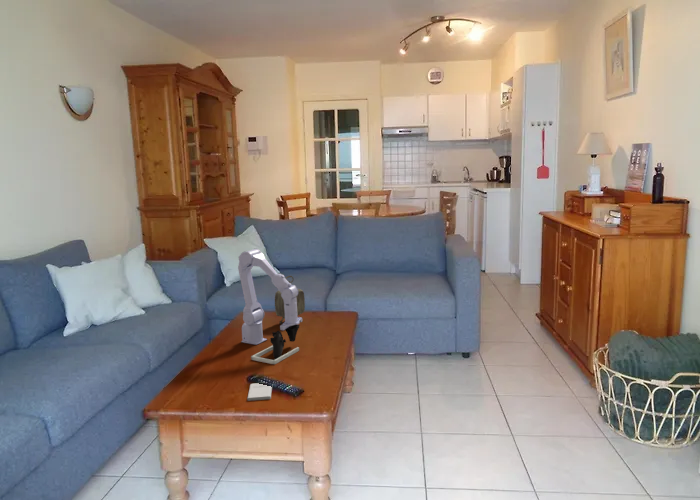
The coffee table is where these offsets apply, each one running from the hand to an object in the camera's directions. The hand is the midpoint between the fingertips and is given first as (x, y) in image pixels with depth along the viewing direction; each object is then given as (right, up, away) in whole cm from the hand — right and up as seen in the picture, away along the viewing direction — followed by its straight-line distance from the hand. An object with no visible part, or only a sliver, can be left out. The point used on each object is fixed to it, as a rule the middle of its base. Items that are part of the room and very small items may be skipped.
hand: (292, 340), depth 238 cm
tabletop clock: (-5, +3, +37) cm, 37 cm away
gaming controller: (-5, -5, -10) cm, 12 cm away
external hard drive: (-7, -11, -47) cm, 49 cm away
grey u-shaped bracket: (-6, -4, -10) cm, 13 cm away
